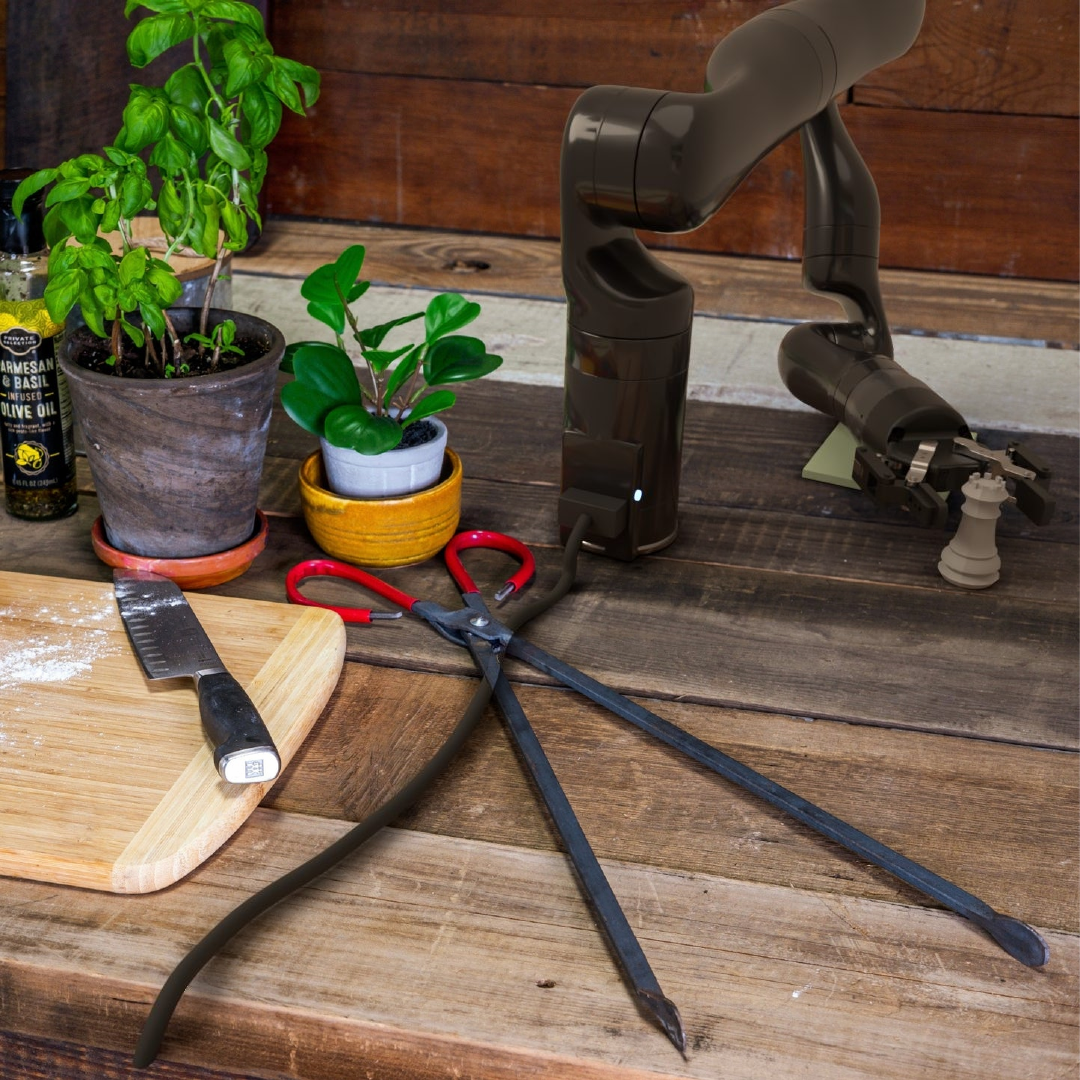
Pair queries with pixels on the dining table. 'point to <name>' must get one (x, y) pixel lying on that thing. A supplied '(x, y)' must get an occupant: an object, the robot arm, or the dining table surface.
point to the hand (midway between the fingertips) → (995, 517)
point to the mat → (839, 460)
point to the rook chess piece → (975, 535)
